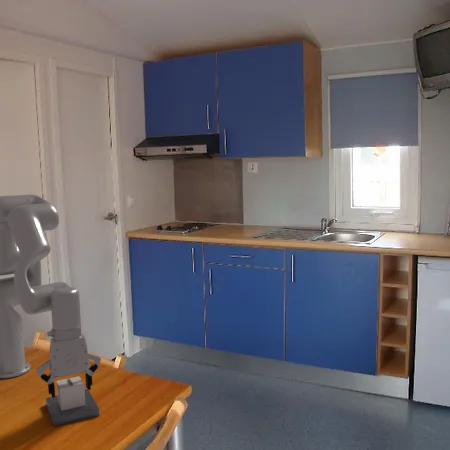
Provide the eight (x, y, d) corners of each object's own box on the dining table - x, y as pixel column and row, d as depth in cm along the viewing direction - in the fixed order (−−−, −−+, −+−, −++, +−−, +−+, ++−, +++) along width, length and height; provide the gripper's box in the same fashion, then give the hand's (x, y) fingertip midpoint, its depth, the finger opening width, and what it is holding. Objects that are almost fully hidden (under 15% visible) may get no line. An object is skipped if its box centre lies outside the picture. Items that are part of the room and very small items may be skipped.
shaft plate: (46, 404, 150) (44, 384, 149) (88, 395, 155) (87, 376, 154) (53, 426, 137) (52, 404, 137) (99, 415, 143) (98, 394, 142)
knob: (57, 401, 147) (56, 379, 147) (80, 396, 150) (79, 375, 149) (61, 410, 142) (60, 388, 141) (85, 405, 145) (84, 383, 144)
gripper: (35, 342, 136) (40, 404, 138) (101, 331, 144) (105, 390, 146) (32, 334, 143) (36, 393, 145) (95, 323, 151) (98, 380, 153)
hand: (70, 391), depth 146 cm, fingers open, 9 cm apart
